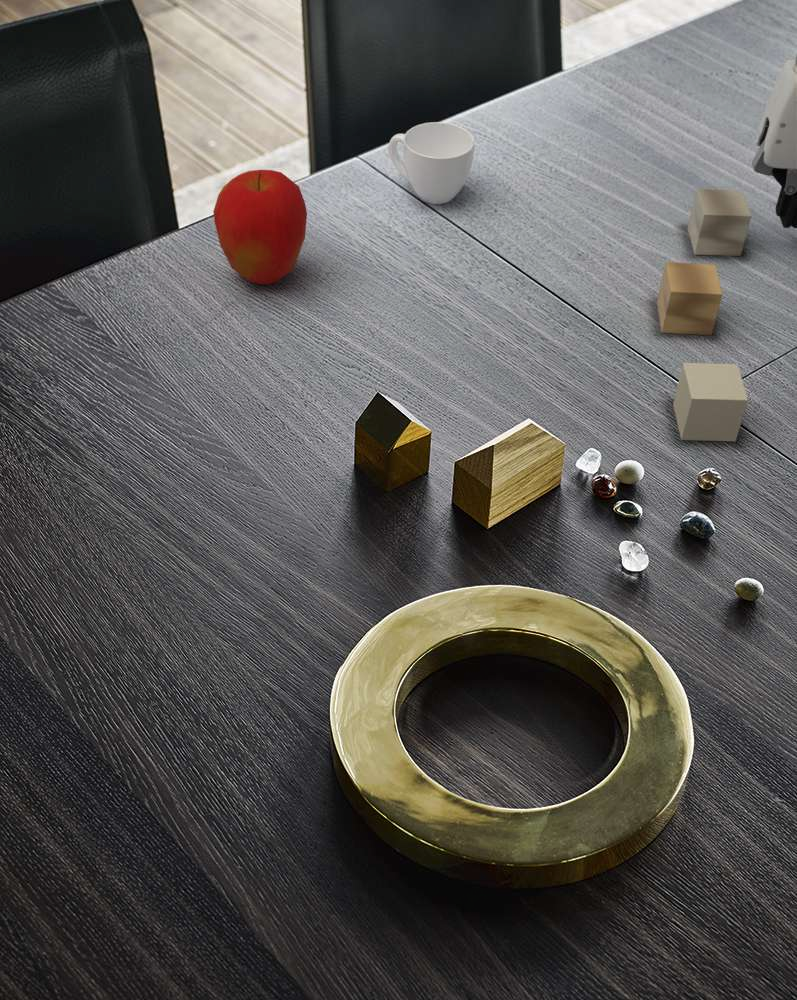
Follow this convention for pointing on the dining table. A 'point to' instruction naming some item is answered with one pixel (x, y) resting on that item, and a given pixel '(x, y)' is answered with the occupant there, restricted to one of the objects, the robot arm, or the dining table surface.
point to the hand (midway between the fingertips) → (788, 220)
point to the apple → (261, 224)
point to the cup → (434, 159)
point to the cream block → (710, 402)
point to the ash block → (719, 222)
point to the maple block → (689, 298)
